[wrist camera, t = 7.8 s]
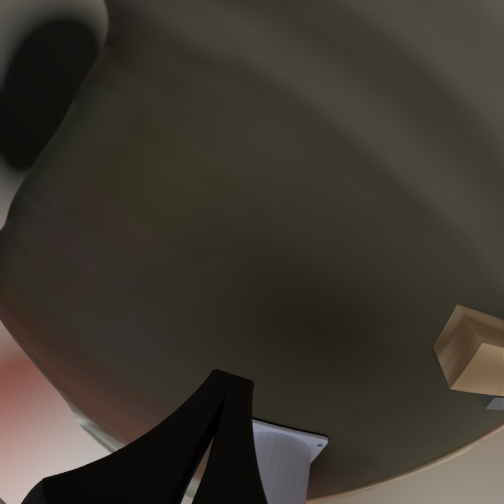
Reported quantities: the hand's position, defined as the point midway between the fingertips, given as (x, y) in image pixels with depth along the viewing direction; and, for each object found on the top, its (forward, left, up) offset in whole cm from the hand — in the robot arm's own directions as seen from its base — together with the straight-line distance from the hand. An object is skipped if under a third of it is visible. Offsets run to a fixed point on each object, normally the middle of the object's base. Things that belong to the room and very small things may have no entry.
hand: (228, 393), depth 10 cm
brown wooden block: (0, -17, -10) cm, 20 cm away
